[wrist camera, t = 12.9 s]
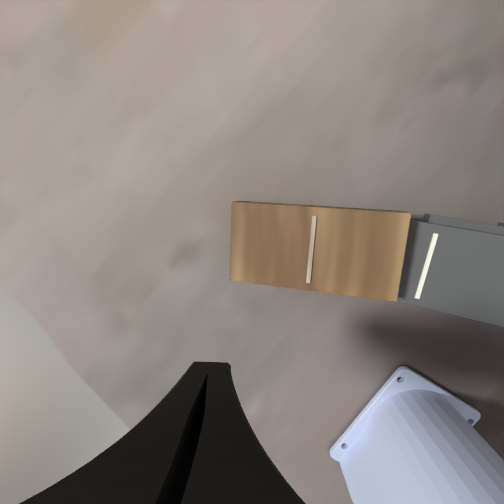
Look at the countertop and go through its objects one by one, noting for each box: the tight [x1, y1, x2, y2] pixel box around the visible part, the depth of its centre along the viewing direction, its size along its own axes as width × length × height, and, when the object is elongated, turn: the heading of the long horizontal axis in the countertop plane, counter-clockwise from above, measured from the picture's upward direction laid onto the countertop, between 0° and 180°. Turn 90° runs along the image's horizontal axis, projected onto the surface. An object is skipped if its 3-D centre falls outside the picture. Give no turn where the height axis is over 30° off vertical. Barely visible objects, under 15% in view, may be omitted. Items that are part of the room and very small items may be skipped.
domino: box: [397, 219, 504, 327], centre depth 18 cm, size 2×5×10 cm
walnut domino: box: [229, 201, 411, 302], centre depth 18 cm, size 2×5×10 cm
